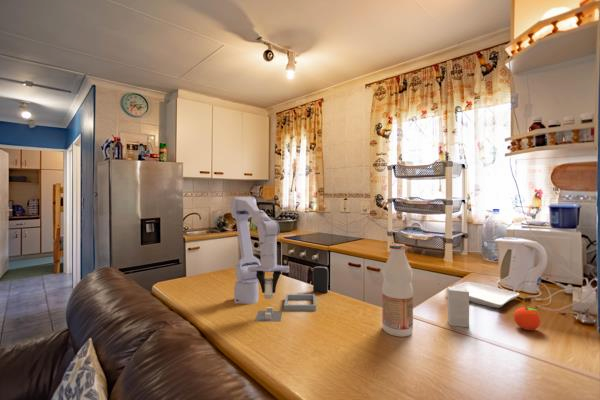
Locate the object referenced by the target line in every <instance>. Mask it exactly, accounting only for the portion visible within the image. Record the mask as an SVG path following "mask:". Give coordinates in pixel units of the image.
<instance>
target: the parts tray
mask: <svg viewBox="0 0 600 400" xmlns="http://www.w3.org/2000/svg"><path fill="white" fill-rule="evenodd" d="M284 299H285V300H284V303H283V311H287V312H288V311H291V312H292V311H293V312H294V311H298V312H301V311H304V312H305V311H307V312H309V311H315V312H317V304H316V303H317V302H316V294H314V293H313V294H312V293H311V294H310V293H309V294H305V293H304V294H301V293H299V294H296V293H295V294H292V293H291V294H285V298H284ZM290 300H291V301H294V300H295V301H296V300H297V301H300V300H301V301H308V300H309V301H313V302H312V303H313V304H288V302H289V301H290Z"/></svg>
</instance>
